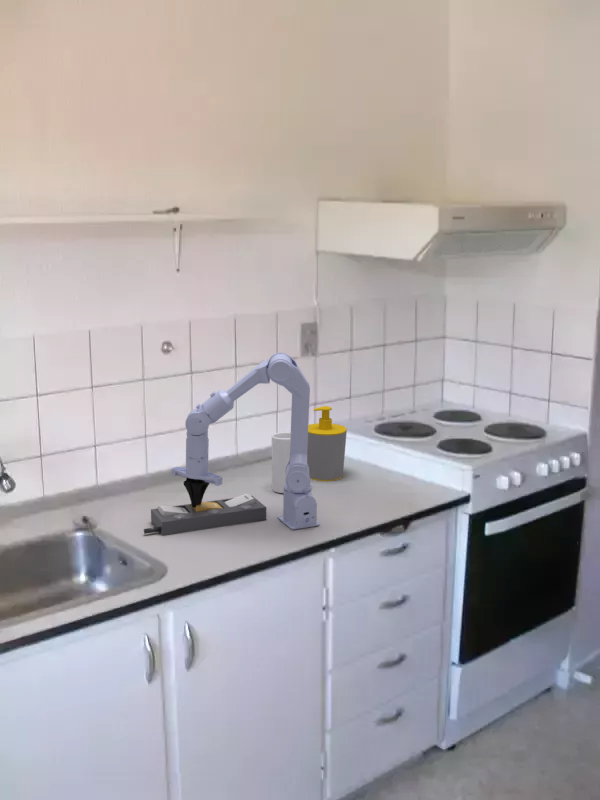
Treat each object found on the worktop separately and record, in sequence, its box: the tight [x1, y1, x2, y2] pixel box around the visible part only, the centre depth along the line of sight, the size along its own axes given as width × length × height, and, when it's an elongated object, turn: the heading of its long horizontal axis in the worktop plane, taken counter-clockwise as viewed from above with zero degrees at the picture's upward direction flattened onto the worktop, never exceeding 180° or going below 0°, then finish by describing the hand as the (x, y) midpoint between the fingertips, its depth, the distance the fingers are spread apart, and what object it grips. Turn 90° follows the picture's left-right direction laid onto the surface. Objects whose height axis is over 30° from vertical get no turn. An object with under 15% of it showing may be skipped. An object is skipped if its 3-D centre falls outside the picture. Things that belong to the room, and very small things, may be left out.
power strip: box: [143, 495, 267, 536], centre depth 231 cm, size 10×32×4 cm, turn 115°
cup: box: [271, 431, 291, 494], centre depth 256 cm, size 8×8×16 cm
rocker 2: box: [224, 492, 255, 507], centre depth 237 cm, size 5×7×2 cm
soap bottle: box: [307, 405, 348, 482], centre depth 269 cm, size 13×13×21 cm
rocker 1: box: [157, 504, 189, 516], centre depth 230 cm, size 5×7×2 cm
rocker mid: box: [190, 501, 222, 512], centre depth 233 cm, size 5×7×2 cm
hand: (196, 506), depth 232 cm, fingers closed, pressing on rocker mid
